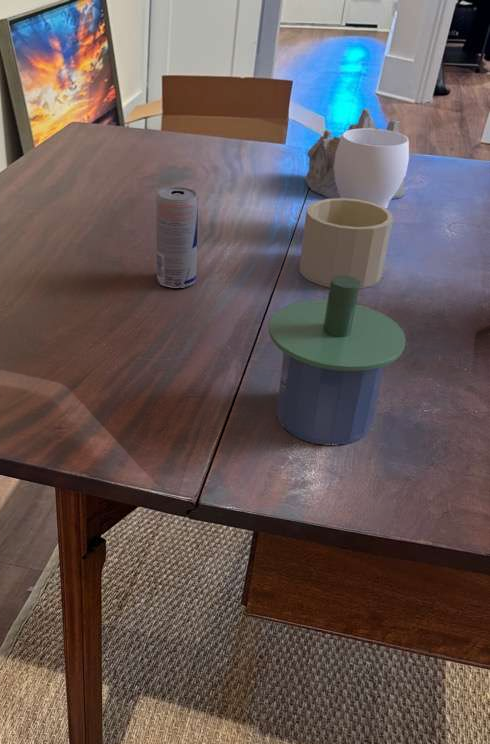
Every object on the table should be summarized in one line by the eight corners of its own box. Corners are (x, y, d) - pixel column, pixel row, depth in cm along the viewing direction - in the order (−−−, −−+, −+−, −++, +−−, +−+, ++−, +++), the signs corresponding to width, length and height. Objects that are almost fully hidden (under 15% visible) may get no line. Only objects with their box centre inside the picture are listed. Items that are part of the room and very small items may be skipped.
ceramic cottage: (415, 197, 126) (429, 105, 118) (332, 209, 123) (339, 114, 114) (372, 176, 139) (381, 91, 130) (294, 186, 135) (299, 98, 126)
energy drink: (196, 273, 100) (199, 187, 92) (195, 290, 95) (197, 201, 88) (158, 272, 100) (157, 185, 92) (155, 289, 96) (154, 199, 88)
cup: (330, 221, 117) (345, 124, 107) (396, 231, 114) (416, 132, 105) (317, 245, 109) (331, 142, 100) (387, 256, 106) (408, 151, 97)
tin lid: (340, 299, 75) (350, 243, 71) (432, 354, 66) (448, 294, 63) (241, 328, 69) (246, 268, 65) (328, 391, 61) (339, 328, 57)
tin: (342, 249, 108) (351, 193, 103) (398, 278, 100) (411, 218, 95) (283, 265, 103) (289, 206, 97) (337, 296, 95) (347, 235, 90)
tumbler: (327, 382, 79) (339, 308, 73) (390, 426, 72) (408, 349, 67) (258, 408, 74) (265, 332, 69) (318, 457, 68) (332, 378, 62)
